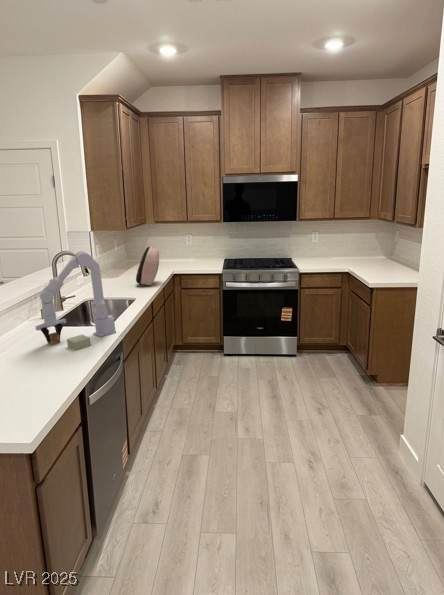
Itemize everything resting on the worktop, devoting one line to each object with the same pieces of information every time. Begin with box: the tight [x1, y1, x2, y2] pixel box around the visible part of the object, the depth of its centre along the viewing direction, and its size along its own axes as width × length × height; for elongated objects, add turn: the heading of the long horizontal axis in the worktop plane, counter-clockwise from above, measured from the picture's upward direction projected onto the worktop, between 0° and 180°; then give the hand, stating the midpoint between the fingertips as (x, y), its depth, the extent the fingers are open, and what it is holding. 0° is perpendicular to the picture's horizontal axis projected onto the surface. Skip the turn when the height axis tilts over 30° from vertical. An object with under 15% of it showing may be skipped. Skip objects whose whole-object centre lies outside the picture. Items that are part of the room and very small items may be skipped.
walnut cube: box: [47, 331, 61, 346], centre depth 205 cm, size 4×4×4 cm
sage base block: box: [66, 334, 92, 351], centre depth 199 cm, size 8×8×4 cm
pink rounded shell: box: [135, 246, 160, 286], centre depth 324 cm, size 22×20×30 cm
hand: (53, 340), depth 206 cm, fingers closed on walnut cube, 4 cm apart
